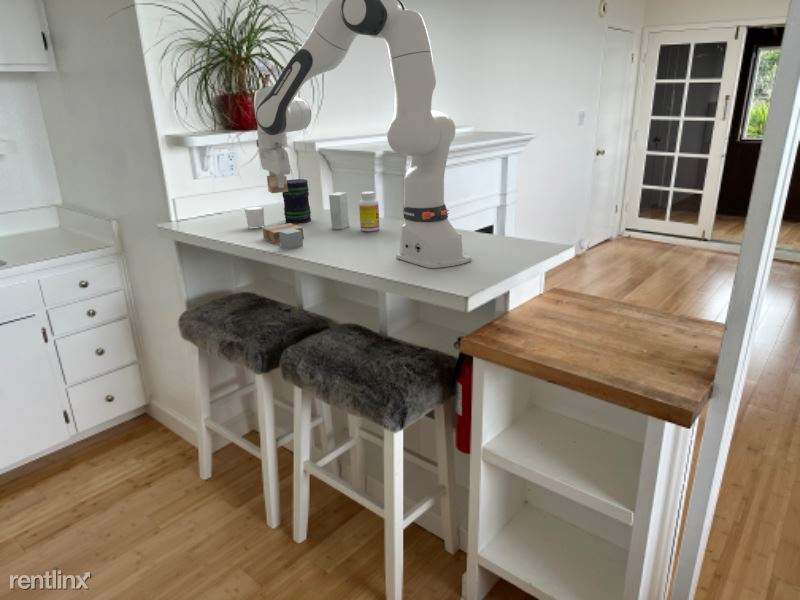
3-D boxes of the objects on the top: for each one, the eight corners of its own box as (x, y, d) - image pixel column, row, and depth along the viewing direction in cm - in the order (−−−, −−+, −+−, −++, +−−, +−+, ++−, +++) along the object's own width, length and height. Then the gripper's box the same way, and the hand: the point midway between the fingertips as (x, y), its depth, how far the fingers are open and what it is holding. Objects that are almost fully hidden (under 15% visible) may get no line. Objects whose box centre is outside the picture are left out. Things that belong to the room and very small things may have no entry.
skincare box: (338, 225, 204) (336, 191, 200) (349, 225, 202) (347, 192, 198) (331, 229, 199) (328, 194, 194) (342, 229, 197) (339, 195, 193)
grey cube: (302, 246, 177) (301, 230, 175) (289, 249, 174) (287, 233, 172) (294, 243, 181) (292, 228, 179) (280, 247, 177) (278, 231, 176)
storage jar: (282, 220, 216) (278, 180, 211) (307, 217, 219) (304, 178, 214) (288, 225, 207) (283, 184, 202) (314, 221, 211) (310, 181, 206)
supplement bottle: (379, 231, 192) (377, 193, 187) (359, 232, 192) (357, 194, 188) (380, 227, 198) (378, 190, 194) (361, 227, 198) (359, 191, 194)
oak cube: (287, 191, 181) (286, 175, 180) (272, 193, 179) (270, 177, 178) (283, 189, 186) (281, 174, 184) (268, 191, 183) (266, 175, 182)
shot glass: (261, 229, 203) (259, 209, 200) (243, 229, 204) (241, 209, 202) (268, 224, 209) (266, 206, 207) (251, 224, 210) (248, 206, 208)
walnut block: (303, 239, 187) (302, 227, 185) (275, 244, 181) (274, 232, 180) (291, 234, 194) (290, 223, 193) (263, 239, 189) (262, 227, 188)
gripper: (292, 143, 170) (297, 189, 175) (273, 139, 187) (278, 181, 192) (272, 144, 167) (277, 191, 172) (254, 141, 184) (259, 183, 189)
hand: (277, 186), depth 182 cm, fingers closed on oak cube, 5 cm apart
